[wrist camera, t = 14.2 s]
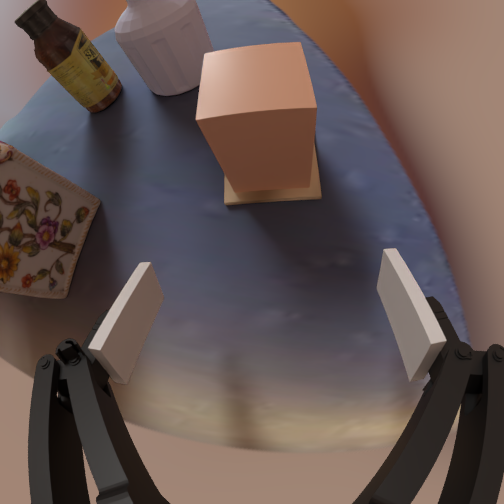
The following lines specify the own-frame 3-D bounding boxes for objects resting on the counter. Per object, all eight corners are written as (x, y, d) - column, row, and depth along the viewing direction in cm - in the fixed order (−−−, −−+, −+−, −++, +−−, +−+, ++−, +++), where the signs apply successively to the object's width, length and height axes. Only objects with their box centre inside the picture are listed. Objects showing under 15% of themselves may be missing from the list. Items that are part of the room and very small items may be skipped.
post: (225, 205, 23) (198, 164, 16) (227, 130, 25) (206, 78, 17) (320, 198, 22) (331, 153, 15) (310, 123, 23) (311, 68, 16)
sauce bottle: (129, 93, 28) (50, -10, 9) (92, 122, 28) (2, 34, 9) (118, 75, 30) (51, -12, 11) (85, 101, 30) (10, 24, 11)
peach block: (234, 192, 22) (195, 120, 13) (234, 133, 24) (204, 53, 14) (309, 187, 22) (316, 107, 12) (301, 127, 23) (300, 42, 13)
